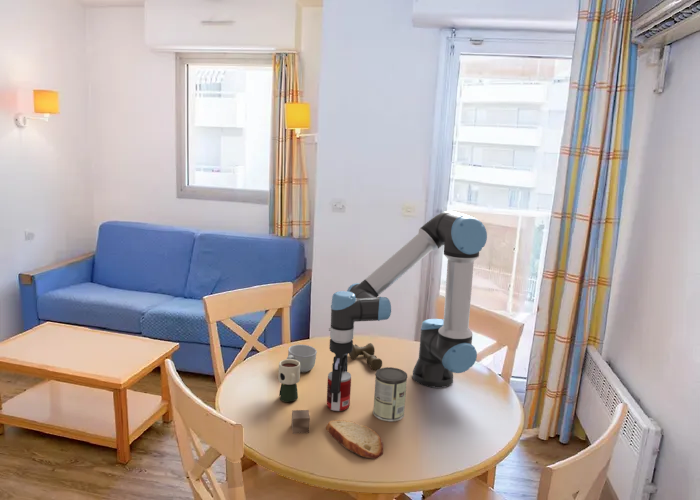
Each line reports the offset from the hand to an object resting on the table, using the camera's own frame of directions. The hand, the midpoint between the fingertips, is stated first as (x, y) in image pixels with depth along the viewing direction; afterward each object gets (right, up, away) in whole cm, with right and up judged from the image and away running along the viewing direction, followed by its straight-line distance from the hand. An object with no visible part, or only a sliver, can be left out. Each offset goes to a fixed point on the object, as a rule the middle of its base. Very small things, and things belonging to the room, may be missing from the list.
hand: (338, 403), depth 185 cm
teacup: (-16, +5, +26) cm, 31 cm away
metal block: (-11, -4, -15) cm, 19 cm away
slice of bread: (+5, -6, -19) cm, 21 cm away
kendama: (+10, +6, +38) cm, 40 cm away
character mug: (-17, 0, +3) cm, 17 cm away
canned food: (0, -1, 0) cm, 1 cm away
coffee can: (+16, -3, -3) cm, 17 cm away
